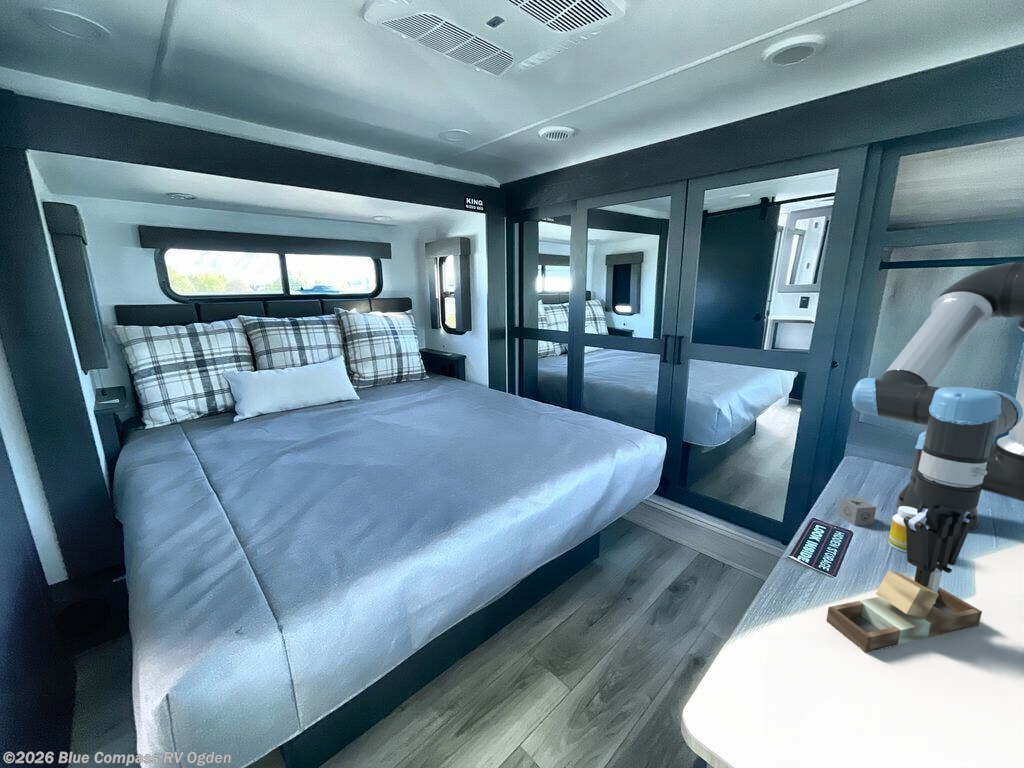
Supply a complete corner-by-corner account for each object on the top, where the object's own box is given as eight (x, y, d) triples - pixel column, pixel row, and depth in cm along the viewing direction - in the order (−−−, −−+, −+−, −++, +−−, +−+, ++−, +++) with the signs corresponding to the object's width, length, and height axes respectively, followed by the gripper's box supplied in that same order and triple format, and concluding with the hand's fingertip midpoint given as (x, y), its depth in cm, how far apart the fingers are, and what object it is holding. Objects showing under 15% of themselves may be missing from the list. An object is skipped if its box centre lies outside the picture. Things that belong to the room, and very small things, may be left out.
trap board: (932, 598, 80) (935, 584, 79) (978, 625, 73) (982, 611, 73) (826, 621, 75) (828, 607, 75) (865, 652, 69) (868, 637, 68)
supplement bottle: (890, 537, 99) (897, 501, 97) (921, 547, 95) (929, 510, 93) (885, 546, 96) (892, 509, 94) (916, 557, 92) (924, 519, 90)
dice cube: (838, 515, 110) (841, 498, 109) (856, 514, 110) (859, 497, 109) (854, 525, 105) (857, 508, 104) (873, 524, 105) (876, 507, 104)
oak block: (893, 598, 76) (906, 575, 76) (925, 618, 71) (938, 594, 71) (875, 593, 75) (888, 570, 74) (906, 613, 70) (920, 588, 70)
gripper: (945, 493, 64) (918, 620, 69) (1008, 484, 67) (977, 608, 72) (893, 473, 71) (872, 590, 76) (951, 466, 74) (927, 579, 79)
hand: (923, 598), depth 74 cm, fingers closed
